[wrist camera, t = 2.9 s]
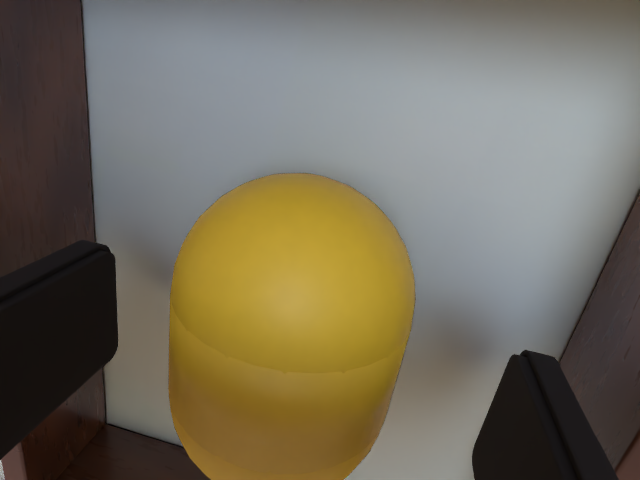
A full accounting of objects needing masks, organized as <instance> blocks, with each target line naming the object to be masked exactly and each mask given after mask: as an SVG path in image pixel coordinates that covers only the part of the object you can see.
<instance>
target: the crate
mask: <svg viewBox="0 0 640 480" xmlns="http://www.w3.org/2000/svg"><path fill="white" fill-rule="evenodd" d="M80 240H87V241H91V242H95V237H94V220H93V203H92V186H91V169H90V152H89V135H88V119H87V102H86V85H85V68H84V51H83V34H82V18H81V1H80V0H0V277H3V276H5V275H7V274H9V273H11V272H13V271H15V270H18V269H20V268H22V267H24V266H26V265H28V264H30V263H32V262H35V261H37V260H39V259H41V258H43V257H45V256H47V255H50V254H52V253H54V252H56V251H58V250H60V249H62V248H65V247H67V246H69V245H71V244H73V243H75V242H77V241H80ZM559 365H560V367H561V369H562V371H563V373H564V375H565V377H566V379H567V381H568V383H569V385H570V387H571V389H572V391H573V393H574V395H575V397H576V398H577V400H578V402H579V404H580V406H581V408H582V410H583V412H584V414H585V416H586V418H587V420H588V422H589V424H590V426H591V428H592V430H593V432H594V434H595V436H596V437H597V439H598V441H599V442H600V444H601V446H602V448H603V450H604V452H605V454H606V456H607V458H608V460H609V462H610V464H611V465H612V467H613V469H614V471H615V473H616V475H617V477H618V479H619V480H640V194H639V196H638V198H637V200H636V202H635V204H634V206H633V209H632V211H631V213H630V215H629V217H628V219H627V221H626V223H625V226H624V228H623V230H622V232H621V234H620V236H619V238H618V240H617V243H616V245H615V247H614V249H613V251H612V253H611V255H610V257H609V259H608V262H607V264H606V266H605V268H604V270H603V272H602V274H601V276H600V279H599V281H598V283H597V285H596V287H595V289H594V291H593V293H592V296H591V298H590V300H589V302H588V304H587V306H586V308H585V310H584V312H583V315H582V317H581V319H580V321H579V323H578V325H577V327H576V329H575V332H574V334H573V336H572V338H571V340H570V342H569V344H568V346H567V349H566V351H565V353H564V355H563V357H562V359H561V361H560V363H559ZM1 461H2V466H3V471H4V476H5V480H211V479H210V478H208V477H207V476H206V475H205V474H204V473H203V472H202V471H201V470H200V469H199V468H198V467H197V465H196V464H195V463H194V462H193V461H192V460H191V459H190V457H189V456H188V454H187V452H186V450H185V448H182V447H178V446H175V445H172V444H168V443H165V442H162V441H159V440H155V439H152V438H149V437H146V436H142V435H139V434H136V433H133V432H129V431H126V430H123V429H120V428H116V427H113V426H110V425H107V424H105V405H104V388H103V371H102V368H101V369H100V370H99V371H98V372H97V373H96V374H94V375H93V376H92V377H91V378H90V379H89V380H88V381H87V382H86V383H84V384H83V385H82V386H81V387H80V388H79V389H78V390H77V391H76V392H75V393H73V394H72V395H71V396H70V397H69V398H68V399H67V400H66V401H65V402H64V403H62V404H61V405H60V406H59V407H58V408H57V409H56V410H55V411H54V412H53V413H51V414H50V415H49V416H48V417H47V418H46V419H45V420H44V421H43V422H42V423H40V424H39V425H38V426H37V427H36V428H35V429H34V430H33V431H32V432H31V433H29V434H28V435H27V436H26V437H25V438H24V439H23V440H22V441H21V442H20V443H18V444H17V445H16V446H15V447H14V448H13V449H12V450H11V451H10V452H8V453H7V454H6V455H5V456H4V457H3V458H2V459H1Z"/></svg>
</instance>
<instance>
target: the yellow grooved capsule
mask: <svg viewBox="0 0 640 480" xmlns="http://www.w3.org/2000/svg"><path fill="white" fill-rule="evenodd" d="M415 300H416V298H415V282H414V274H413V270H412V266H411V262H410V259H409V256H408V252H407V249H406V246H405V244H404V243H403V241H402V239H401V237H400V235H399V234H398V232H397V230H396V228H395V227H394V225H393V224H392V222H391V221H390V220H389V219H388V217H387V216H386V215H385V214H384V213H383V212H382V211H381V210H380V208H379V207H378V206H377V205H376V204H375V203H373V202H372V201H371V200H370V199H368V198H367V197H365V196H364V195H362V194H361V193H360V192H358V191H357V190H355V189H354V188H352V187H350V186H348V185H346V184H344V183H341V182H338V181H335V180H332V179H329V178H327V177H323V176H319V175H314V174H306V173H283V174H273V175H269V176H265V177H262V178H259V179H255V180H252V181H249V182H246V183H244V184H242V185H240V186H238V187H237V188H235V189H233V190H231V191H230V192H228V193H226V194H225V195H223V196H222V197H220V198H219V199H218V200H217V201H216V202H215V203H214V204H213V205H211V206H210V207H209V208H208V209H207V210H206V211H205V212H204V213H203V214H202V215H201V216H200V217H199V218H198V220H197V221H196V223H195V224H194V226H193V227H192V229H191V230H190V232H189V233H188V235H187V236H186V238H185V240H184V242H183V244H182V247H181V249H180V252H179V254H178V257H177V260H176V262H175V265H174V271H173V278H172V285H171V293H170V332H169V386H168V389H169V401H170V409H171V414H172V418H173V423H174V427H175V430H176V432H177V434H178V436H179V438H180V441H181V443H182V445H183V446H184V448H185V450H186V452H187V454H188V456H189V457H190V459H191V460H192V461H193V462H194V463H195V464H196V465H197V467H198V468H199V469H200V470H201V471H202V472H203V473H204V474H205V475H206V476H207V477H208V478H210V479H211V480H343V479H345V478H346V477H347V476H348V475H349V474H350V473H351V472H352V471H353V470H354V469H355V468H356V467H357V466H358V465H359V463H360V462H361V461H362V460H363V459H364V458H365V457H366V455H367V454H368V453H369V452H370V450H371V448H372V446H373V444H374V442H375V441H376V439H377V437H378V435H379V432H380V430H381V428H382V425H383V423H384V421H385V417H386V414H387V411H388V407H389V404H390V400H391V397H392V393H393V390H394V387H395V383H396V380H397V376H398V373H399V369H400V366H401V362H402V359H403V355H404V352H405V348H406V345H407V341H408V338H409V334H410V331H411V326H412V319H413V312H414V306H415Z"/></svg>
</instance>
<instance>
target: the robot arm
mask: <svg viewBox="0 0 640 480" xmlns="http://www.w3.org/2000/svg"><path fill="white" fill-rule="evenodd" d="M117 347H118V328H117V298H116V268H115V257H114V255H113V254H112V253H111V252H110V249H109V247H107V246H106V245H103V244H99V243H95V242H91V241H87V240H80V241H77V242H75V243H73V244H71V245H69V246H67V247H65V248H62V249H60V250H58V251H56V252H54V253H52V254H50V255H47V256H45V257H43V258H41V259H39V260H37V261H35V262H32V263H30V264H28V265H26V266H24V267H22V268H20V269H18V270H15V271H13V272H11V273H9V274H7V275H5V276H3V277H0V460H1V459H2V458H3V457H4V456H5V455H6V454H7V453H8V452H10V451H11V450H12V449H13V448H14V447H15V446H16V445H17V444H18V443H20V442H21V441H22V440H23V439H24V438H25V437H26V436H27V435H28V434H29V433H31V432H32V431H33V430H34V429H35V428H36V427H37V426H38V425H39V424H40V423H42V422H43V421H44V420H45V419H46V418H47V417H48V416H49V415H50V414H51V413H53V412H54V411H55V410H56V409H57V408H58V407H59V406H60V405H61V404H62V403H64V402H65V401H66V400H67V399H68V398H69V397H70V396H71V395H72V394H73V393H75V392H76V391H77V390H78V389H79V388H80V387H81V386H82V385H83V384H84V383H86V382H87V381H88V380H89V379H90V378H91V377H92V376H93V375H94V374H96V373H97V372H98V371H99V370H100V369H101V368H102V367H103V366H104V365H105V364H107V363H108V362H109V361H110V360H111V359H112V358H113V356H114V355H115V353H116V351H117ZM472 465H473V472H474V478H475V480H619V479H618V477H617V475H616V473H615V471H614V469H613V467H612V465H611V464H610V462H609V460H608V458H607V456H606V454H605V452H604V450H603V448H602V446H601V444H600V442H599V441H598V439H597V437H596V436H595V434H594V432H593V430H592V428H591V426H590V424H589V422H588V420H587V418H586V416H585V414H584V412H583V410H582V408H581V406H580V404H579V402H578V400H577V398H576V397H575V395H574V393H573V391H572V389H571V387H570V385H569V383H568V381H567V379H566V377H565V375H564V373H563V371H562V369H561V367H560V365H559V363H558V361H557V360H556V359H555V357H552V356H548V355H544V354H540V353H536V352H532V351H528V350H524V351H523V352H522V353H521V354H520V355H516V354H514V355H512V356H511V357H510V359H509V362H508V364H507V367H506V369H505V371H504V374H503V376H502V379H501V381H500V384H499V386H498V389H497V391H496V394H495V396H494V398H493V401H492V403H491V406H490V408H489V411H488V413H487V416H486V418H485V421H484V423H483V425H482V428H481V430H480V433H479V435H478V438H477V440H476V443H475V445H474V449H473V455H472Z"/></svg>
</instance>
